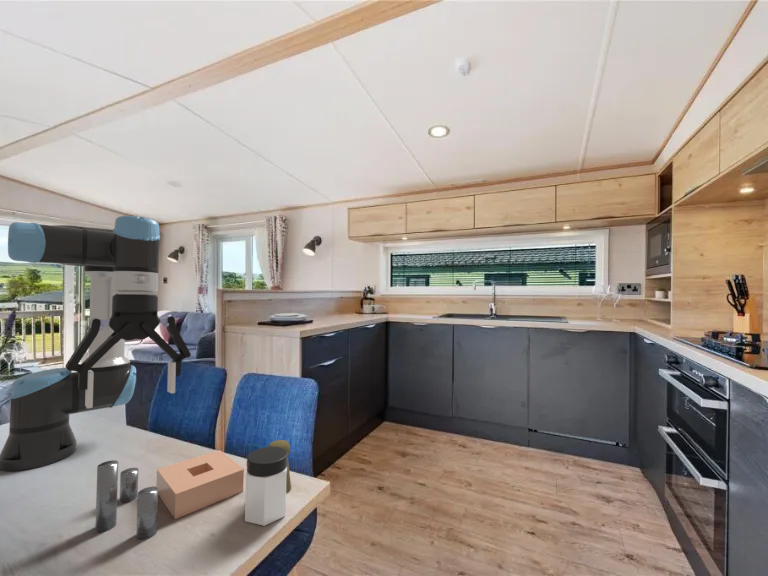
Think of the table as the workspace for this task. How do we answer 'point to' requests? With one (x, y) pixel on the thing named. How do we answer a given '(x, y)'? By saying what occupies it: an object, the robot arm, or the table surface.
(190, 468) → the socket block
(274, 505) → the jar
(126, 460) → the table surface
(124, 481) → the short pin
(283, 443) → the olive pawn
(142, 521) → the medium pin
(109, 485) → the long pin
